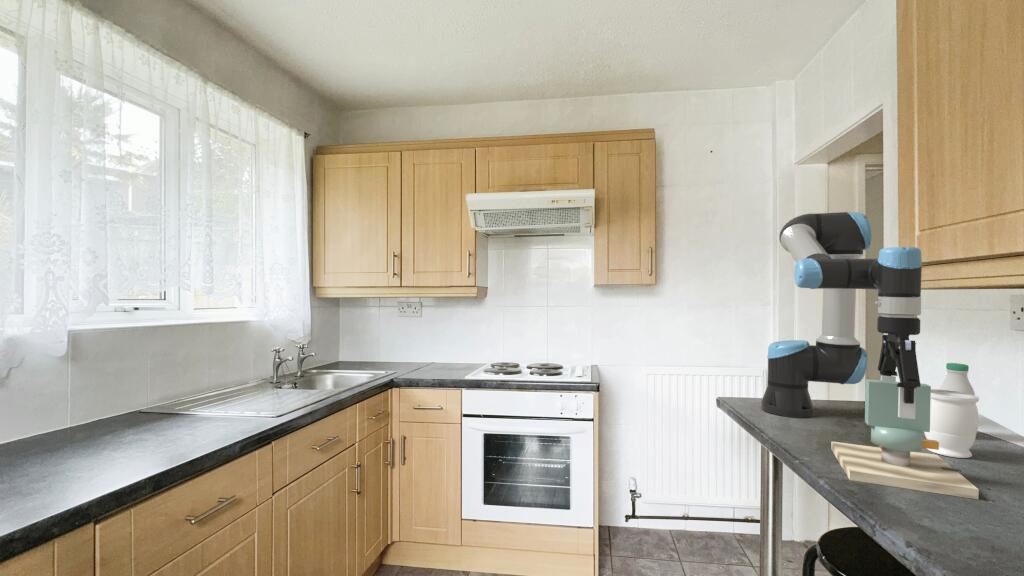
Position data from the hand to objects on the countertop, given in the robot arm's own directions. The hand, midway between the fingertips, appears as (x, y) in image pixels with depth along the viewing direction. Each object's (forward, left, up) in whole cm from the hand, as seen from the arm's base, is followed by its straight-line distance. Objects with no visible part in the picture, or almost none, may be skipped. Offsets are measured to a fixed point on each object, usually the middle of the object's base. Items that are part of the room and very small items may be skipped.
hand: (896, 410), depth 108 cm
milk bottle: (-41, +24, -14) cm, 49 cm away
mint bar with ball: (0, +1, -8) cm, 8 cm away
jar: (-21, +16, -14) cm, 30 cm away
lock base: (0, 0, -14) cm, 14 cm away
